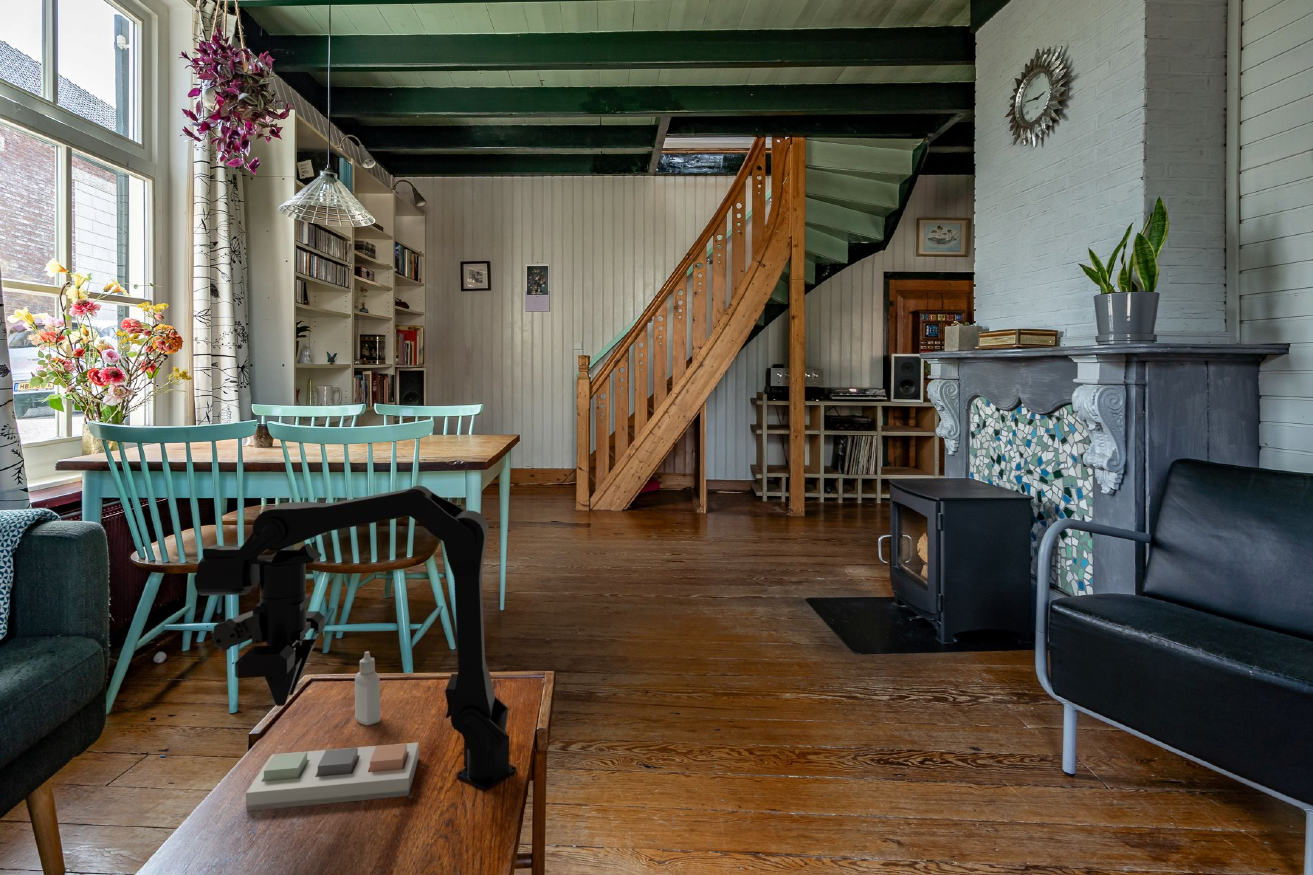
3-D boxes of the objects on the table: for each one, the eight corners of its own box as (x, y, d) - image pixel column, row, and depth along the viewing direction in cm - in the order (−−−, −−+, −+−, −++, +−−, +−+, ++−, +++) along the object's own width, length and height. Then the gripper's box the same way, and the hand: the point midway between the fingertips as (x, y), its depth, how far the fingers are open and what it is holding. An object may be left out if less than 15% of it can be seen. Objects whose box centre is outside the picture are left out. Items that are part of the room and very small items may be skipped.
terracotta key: (406, 756, 103) (406, 743, 103) (402, 772, 99) (402, 758, 99) (376, 758, 102) (376, 745, 102) (370, 774, 98) (369, 761, 98)
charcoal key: (357, 760, 102) (357, 747, 102) (350, 776, 98) (350, 763, 97) (326, 762, 101) (326, 749, 101) (317, 779, 97) (317, 765, 97)
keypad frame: (418, 758, 106) (418, 742, 106) (408, 795, 97) (408, 777, 96) (272, 770, 102) (271, 754, 102) (246, 811, 92) (245, 792, 92)
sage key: (307, 764, 100) (307, 751, 100) (297, 781, 96) (297, 767, 96) (274, 767, 100) (274, 754, 99) (264, 784, 95) (263, 770, 95)
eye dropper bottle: (351, 728, 115) (351, 659, 115) (356, 713, 121) (355, 647, 120) (379, 725, 117) (379, 657, 116) (382, 710, 122) (382, 645, 121)
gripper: (246, 577, 104) (248, 676, 105) (188, 617, 85) (191, 737, 86) (325, 574, 106) (326, 672, 107) (284, 613, 88) (286, 730, 89)
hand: (284, 700), depth 97 cm, fingers open, 3 cm apart
